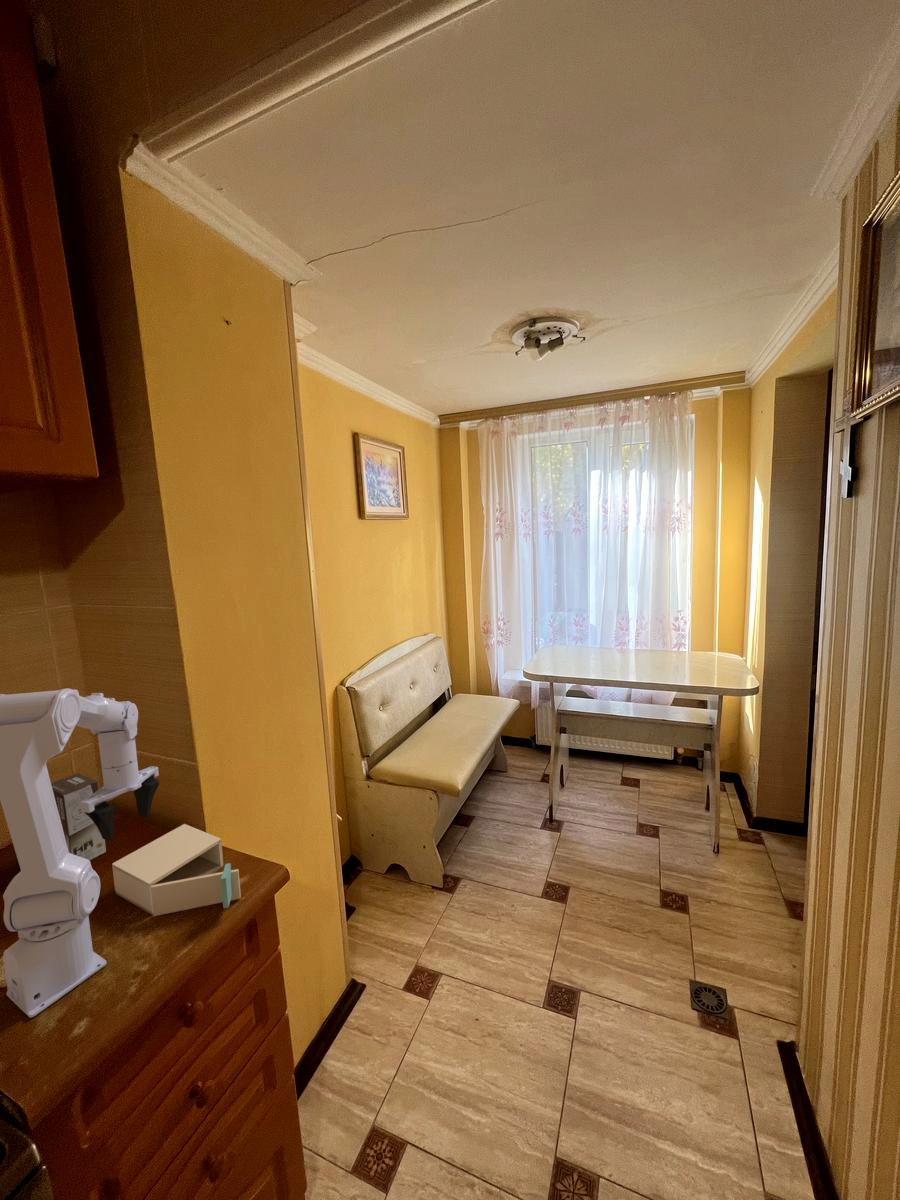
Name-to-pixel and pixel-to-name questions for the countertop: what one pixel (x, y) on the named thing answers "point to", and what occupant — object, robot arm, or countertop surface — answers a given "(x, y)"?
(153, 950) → the countertop surface
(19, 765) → the robot arm
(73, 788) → the coffee box
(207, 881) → the flap
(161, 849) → the carton
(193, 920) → the countertop surface
